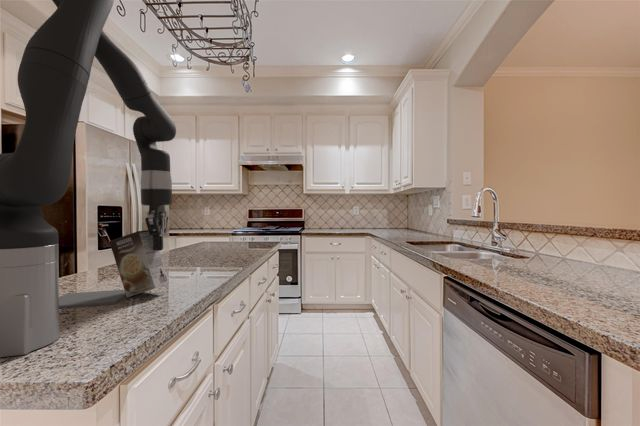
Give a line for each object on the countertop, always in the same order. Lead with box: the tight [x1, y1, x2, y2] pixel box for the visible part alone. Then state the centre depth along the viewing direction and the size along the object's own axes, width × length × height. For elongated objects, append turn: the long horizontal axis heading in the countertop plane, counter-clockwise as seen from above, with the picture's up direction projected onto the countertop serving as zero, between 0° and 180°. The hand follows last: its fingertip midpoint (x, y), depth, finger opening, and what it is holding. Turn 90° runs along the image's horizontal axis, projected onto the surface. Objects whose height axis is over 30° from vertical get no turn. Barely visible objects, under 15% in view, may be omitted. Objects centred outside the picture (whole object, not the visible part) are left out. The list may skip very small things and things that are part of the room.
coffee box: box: [109, 229, 170, 298], centre depth 79 cm, size 9×6×16 cm
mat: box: [59, 289, 126, 309], centre depth 75 cm, size 12×16×1 cm
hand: (158, 250), depth 79 cm, fingers closed
